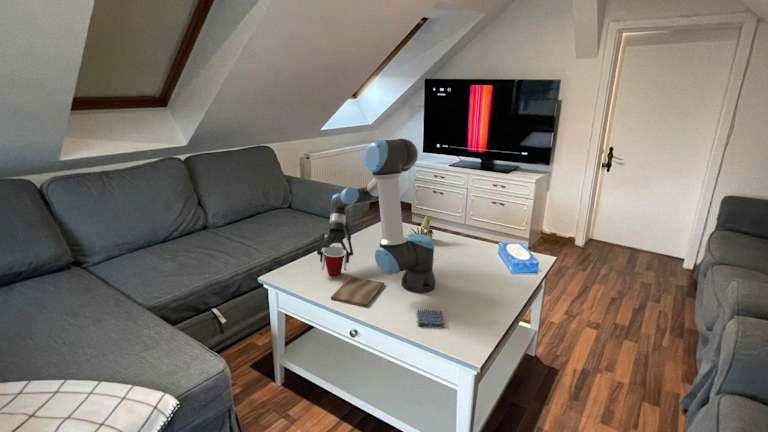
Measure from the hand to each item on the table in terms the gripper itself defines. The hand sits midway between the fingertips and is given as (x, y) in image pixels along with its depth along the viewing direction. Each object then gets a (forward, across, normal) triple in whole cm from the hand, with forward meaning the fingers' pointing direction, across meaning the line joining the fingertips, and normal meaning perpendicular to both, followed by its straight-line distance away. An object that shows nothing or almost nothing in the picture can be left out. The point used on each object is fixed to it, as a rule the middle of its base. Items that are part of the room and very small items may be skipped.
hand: (333, 269), depth 188 cm
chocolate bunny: (-29, -46, -35) cm, 64 cm away
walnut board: (+12, -12, +6) cm, 18 cm away
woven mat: (+27, -41, +20) cm, 53 cm away
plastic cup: (+1, 0, -5) cm, 5 cm away
